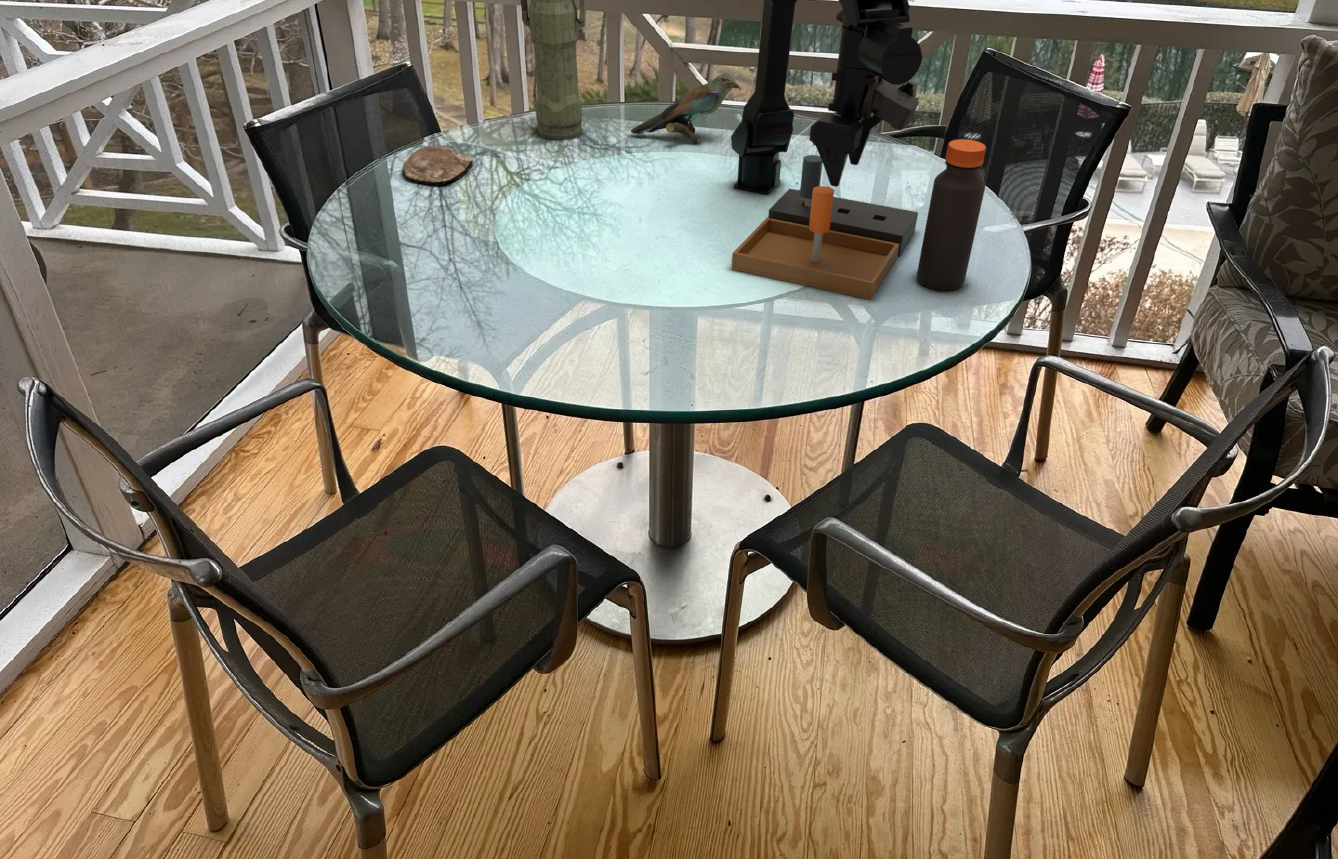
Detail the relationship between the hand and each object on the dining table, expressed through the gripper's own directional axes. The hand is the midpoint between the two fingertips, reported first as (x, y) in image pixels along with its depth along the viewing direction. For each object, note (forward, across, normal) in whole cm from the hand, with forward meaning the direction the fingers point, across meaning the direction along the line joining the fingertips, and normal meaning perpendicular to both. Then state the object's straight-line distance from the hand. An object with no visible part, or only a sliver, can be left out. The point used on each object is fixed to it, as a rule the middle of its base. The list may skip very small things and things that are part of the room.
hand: (844, 174), depth 135 cm
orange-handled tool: (+12, -4, +2) cm, 13 cm away
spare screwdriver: (+13, +8, +8) cm, 17 cm away
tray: (+13, -5, +2) cm, 13 cm away
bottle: (+13, -1, -16) cm, 21 cm away
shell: (+13, -1, +75) cm, 76 cm away
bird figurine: (+13, +35, +42) cm, 56 cm away
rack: (+13, +8, +2) cm, 15 cm away
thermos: (+13, +28, +66) cm, 73 cm away
